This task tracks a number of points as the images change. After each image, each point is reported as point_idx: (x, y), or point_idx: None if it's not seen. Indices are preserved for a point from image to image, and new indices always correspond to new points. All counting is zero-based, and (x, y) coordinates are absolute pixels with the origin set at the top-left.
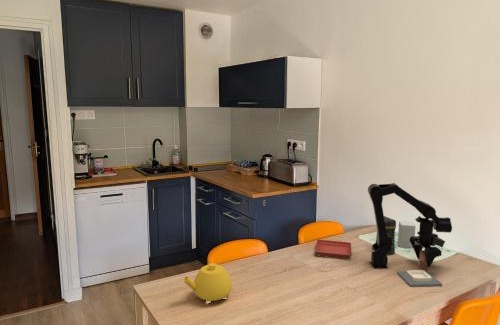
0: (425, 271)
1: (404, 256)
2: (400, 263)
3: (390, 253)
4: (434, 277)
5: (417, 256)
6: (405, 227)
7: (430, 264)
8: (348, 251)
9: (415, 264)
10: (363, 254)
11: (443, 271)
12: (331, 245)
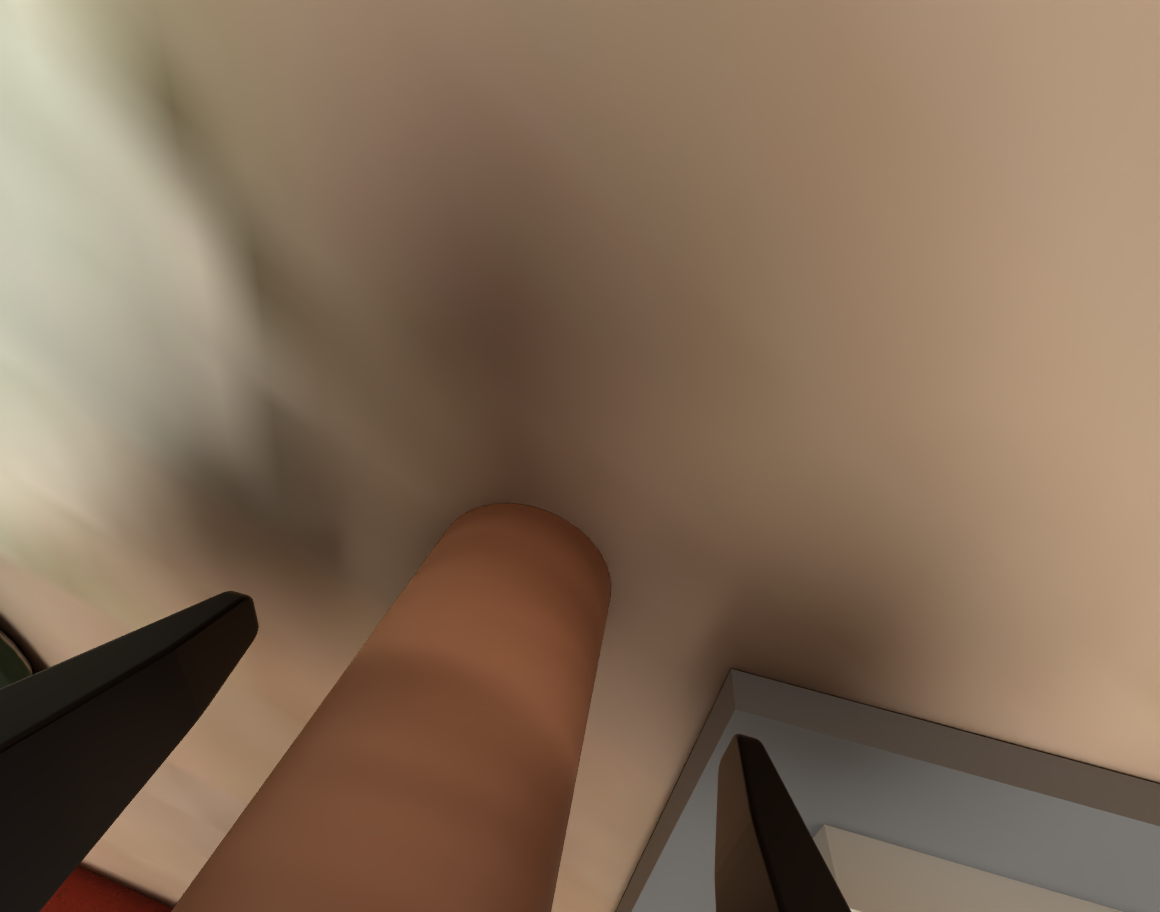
0: None
1: (16, 515)
2: None
3: (7, 673)
4: (1084, 810)
5: (197, 710)
6: None
7: (802, 856)
8: (99, 896)
9: (346, 582)
10: (116, 831)
11: (839, 254)
12: None
